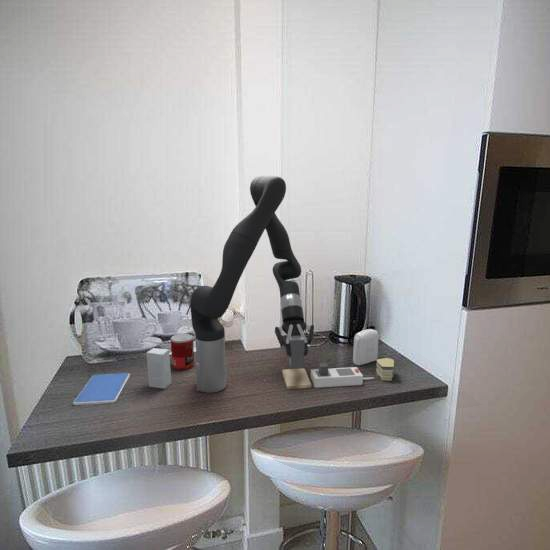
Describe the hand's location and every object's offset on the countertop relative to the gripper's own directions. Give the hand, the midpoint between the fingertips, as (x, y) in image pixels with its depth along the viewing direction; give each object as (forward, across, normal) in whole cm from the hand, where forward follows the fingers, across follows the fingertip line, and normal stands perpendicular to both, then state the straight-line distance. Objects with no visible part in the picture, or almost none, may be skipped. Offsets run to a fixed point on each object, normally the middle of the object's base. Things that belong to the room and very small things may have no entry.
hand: (297, 355), depth 129 cm
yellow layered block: (+7, +30, +8) cm, 32 cm away
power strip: (+8, +15, +6) cm, 18 cm away
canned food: (-6, -39, +19) cm, 44 cm away
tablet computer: (+4, -63, +10) cm, 64 cm away
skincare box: (+4, -45, +9) cm, 46 cm away
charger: (+2, 0, +5) cm, 5 cm away
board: (+6, 0, +8) cm, 10 cm away
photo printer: (-2, +28, +16) cm, 32 cm away
